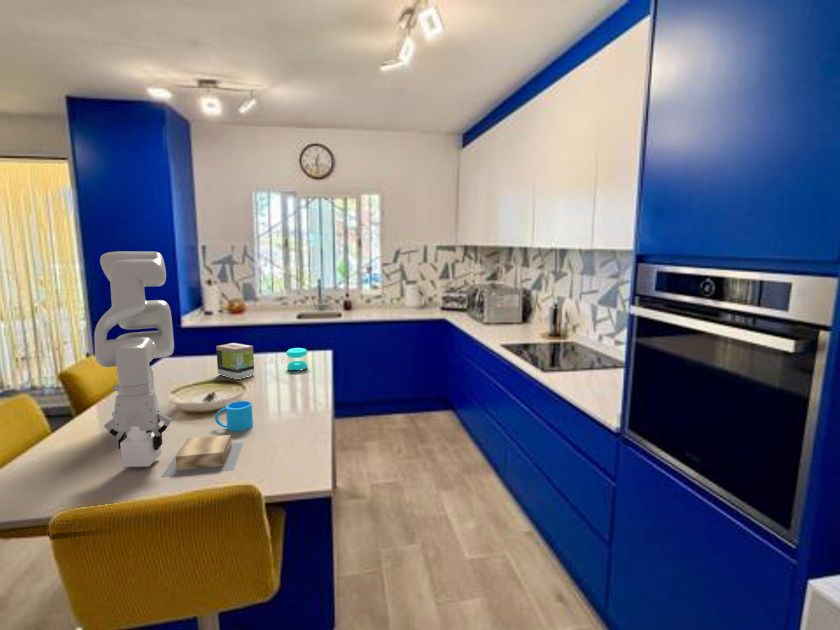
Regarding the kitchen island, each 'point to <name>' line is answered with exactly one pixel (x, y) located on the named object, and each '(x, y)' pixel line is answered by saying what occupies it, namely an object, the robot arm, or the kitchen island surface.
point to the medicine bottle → (138, 448)
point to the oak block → (204, 452)
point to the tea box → (235, 360)
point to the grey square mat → (227, 466)
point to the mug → (237, 416)
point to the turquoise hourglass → (296, 354)
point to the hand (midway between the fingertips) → (141, 449)
